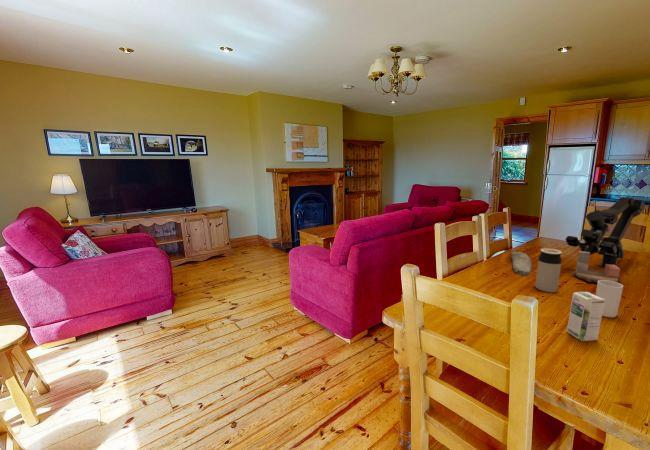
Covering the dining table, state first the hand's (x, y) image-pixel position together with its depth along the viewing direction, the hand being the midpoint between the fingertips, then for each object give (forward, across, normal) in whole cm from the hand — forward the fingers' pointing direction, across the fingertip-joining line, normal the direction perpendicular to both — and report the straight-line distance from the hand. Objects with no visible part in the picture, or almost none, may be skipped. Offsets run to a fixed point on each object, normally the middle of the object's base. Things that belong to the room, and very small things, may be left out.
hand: (581, 258), depth 141 cm
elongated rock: (+12, -24, +2) cm, 27 cm away
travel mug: (+27, 0, -14) cm, 30 cm away
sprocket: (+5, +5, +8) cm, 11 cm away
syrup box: (+47, +26, -35) cm, 64 cm away
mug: (+29, +22, -16) cm, 40 cm away
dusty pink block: (0, +9, +10) cm, 14 cm away
